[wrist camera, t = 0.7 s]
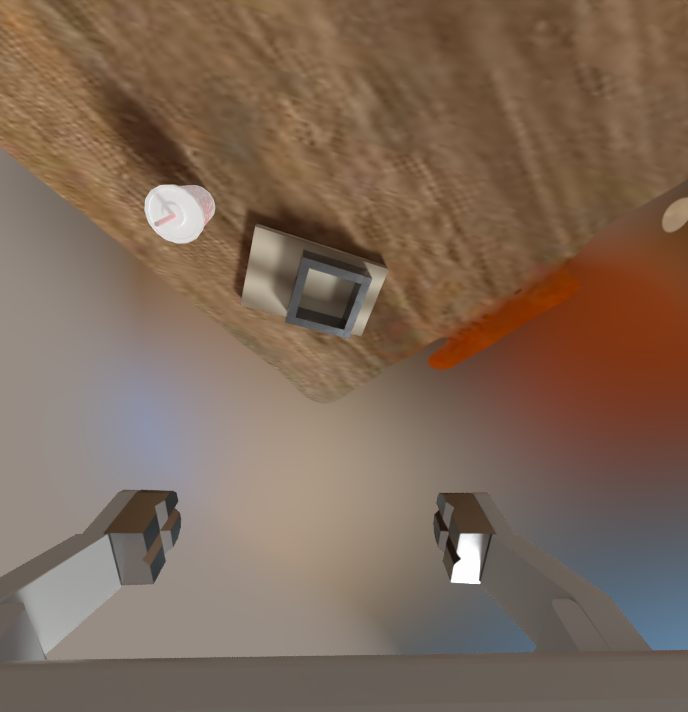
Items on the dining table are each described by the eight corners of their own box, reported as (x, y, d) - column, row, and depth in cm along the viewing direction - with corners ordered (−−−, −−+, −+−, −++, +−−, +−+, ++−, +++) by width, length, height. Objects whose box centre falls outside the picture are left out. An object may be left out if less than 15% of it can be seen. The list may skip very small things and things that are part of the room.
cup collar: (303, 249, 46) (303, 257, 43) (367, 269, 49) (372, 278, 45) (286, 311, 51) (285, 322, 48) (346, 326, 53) (348, 338, 50)
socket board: (257, 223, 46) (255, 226, 44) (385, 265, 51) (388, 269, 49) (242, 299, 51) (240, 304, 50) (359, 330, 56) (361, 336, 55)
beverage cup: (230, 210, 44) (203, 231, 33) (198, 237, 46) (161, 267, 34) (195, 167, 41) (151, 174, 30) (162, 197, 43) (108, 216, 31)
